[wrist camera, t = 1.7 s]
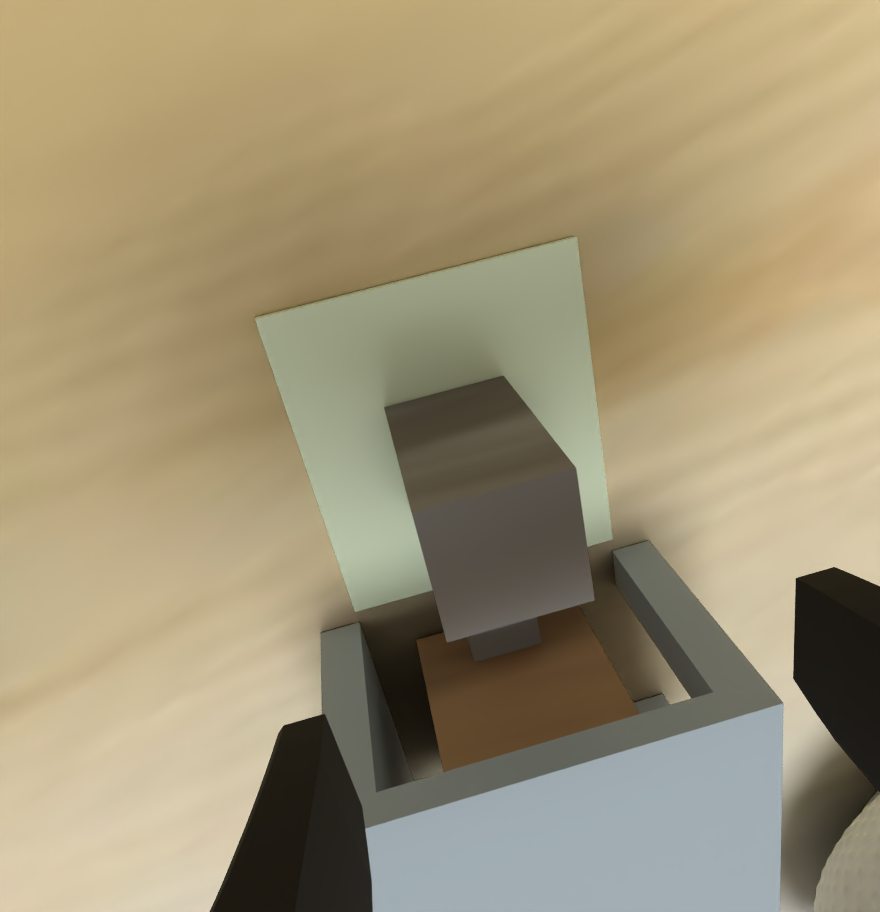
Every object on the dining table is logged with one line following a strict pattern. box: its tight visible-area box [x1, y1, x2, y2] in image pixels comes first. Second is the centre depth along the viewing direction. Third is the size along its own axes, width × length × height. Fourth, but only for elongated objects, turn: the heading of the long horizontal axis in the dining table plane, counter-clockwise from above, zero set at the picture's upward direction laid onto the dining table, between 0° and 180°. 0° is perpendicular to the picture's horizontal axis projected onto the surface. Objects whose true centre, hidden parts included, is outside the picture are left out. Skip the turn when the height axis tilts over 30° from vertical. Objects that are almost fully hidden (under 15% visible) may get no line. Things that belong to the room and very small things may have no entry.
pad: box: [255, 236, 613, 612], centre depth 19 cm, size 9×8×1 cm
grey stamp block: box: [384, 376, 639, 772], centre depth 18 cm, size 14×5×6 cm, turn 12°
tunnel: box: [321, 541, 784, 912], centre depth 20 cm, size 8×10×7 cm
